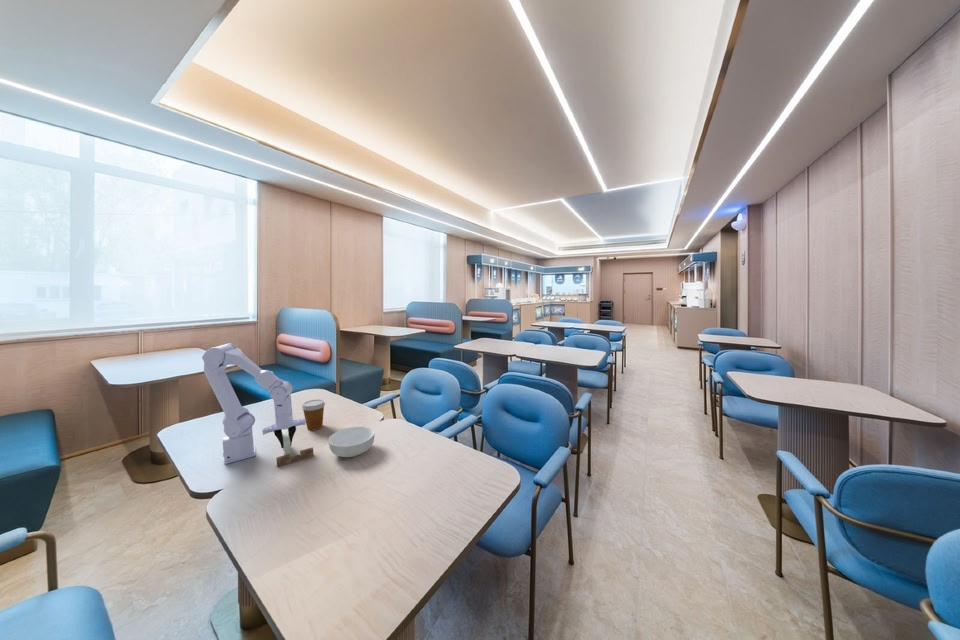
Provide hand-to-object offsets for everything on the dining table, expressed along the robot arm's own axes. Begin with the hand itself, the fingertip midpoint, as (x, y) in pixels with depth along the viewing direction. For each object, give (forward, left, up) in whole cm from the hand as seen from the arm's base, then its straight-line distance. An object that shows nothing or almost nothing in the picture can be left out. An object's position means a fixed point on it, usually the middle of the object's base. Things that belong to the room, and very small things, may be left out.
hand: (286, 446), depth 125 cm
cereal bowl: (+21, -17, -3) cm, 27 cm away
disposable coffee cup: (+13, +17, -3) cm, 22 cm away
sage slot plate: (0, 0, -2) cm, 2 cm away
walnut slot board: (+2, -10, -2) cm, 10 cm away
